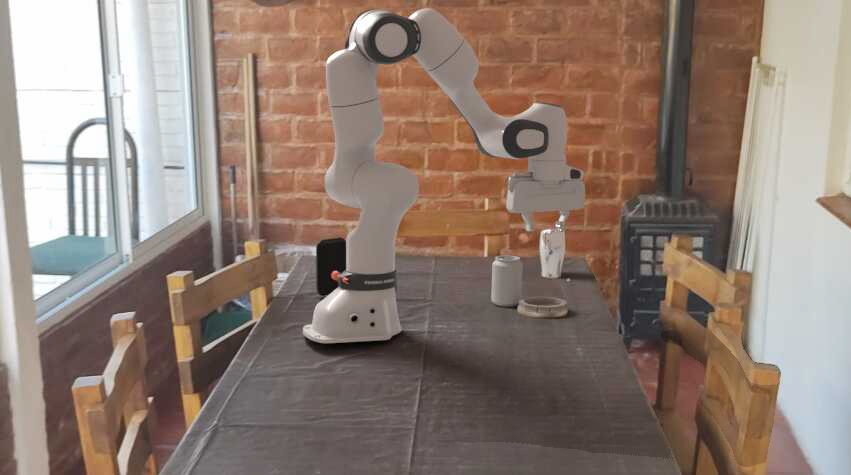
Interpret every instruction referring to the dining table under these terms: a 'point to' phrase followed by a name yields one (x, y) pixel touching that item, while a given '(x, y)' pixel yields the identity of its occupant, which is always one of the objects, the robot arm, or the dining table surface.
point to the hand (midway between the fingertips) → (545, 229)
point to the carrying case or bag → (329, 263)
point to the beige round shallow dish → (542, 307)
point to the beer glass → (552, 252)
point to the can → (506, 281)
